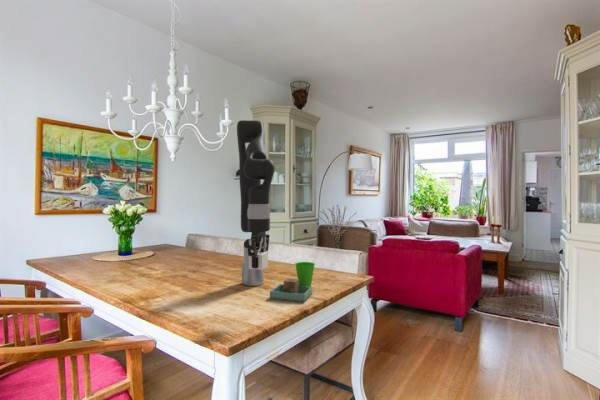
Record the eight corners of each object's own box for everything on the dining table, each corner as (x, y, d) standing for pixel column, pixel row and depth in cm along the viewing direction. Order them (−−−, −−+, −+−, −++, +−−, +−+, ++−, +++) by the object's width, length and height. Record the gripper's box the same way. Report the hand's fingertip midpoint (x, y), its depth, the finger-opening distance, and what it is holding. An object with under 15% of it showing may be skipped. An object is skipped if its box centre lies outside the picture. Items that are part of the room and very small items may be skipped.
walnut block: (283, 296, 130) (283, 281, 130) (287, 292, 135) (287, 278, 135) (295, 297, 128) (295, 282, 128) (298, 293, 133) (299, 279, 133)
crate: (269, 298, 128) (269, 291, 128) (279, 291, 139) (279, 284, 139) (304, 302, 124) (304, 294, 124) (312, 294, 135) (312, 286, 135)
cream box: (248, 268, 109) (248, 253, 109) (254, 265, 114) (255, 251, 114) (262, 269, 108) (262, 254, 108) (268, 266, 113) (268, 252, 113)
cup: (297, 292, 138) (297, 266, 138) (292, 286, 147) (292, 262, 146) (317, 290, 140) (317, 265, 140) (311, 285, 149) (311, 261, 149)
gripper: (260, 219, 103) (259, 272, 103) (276, 216, 116) (276, 262, 117) (239, 218, 105) (238, 270, 105) (257, 215, 119) (257, 261, 119)
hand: (258, 266), depth 111 cm, fingers closed on cream box, 5 cm apart
